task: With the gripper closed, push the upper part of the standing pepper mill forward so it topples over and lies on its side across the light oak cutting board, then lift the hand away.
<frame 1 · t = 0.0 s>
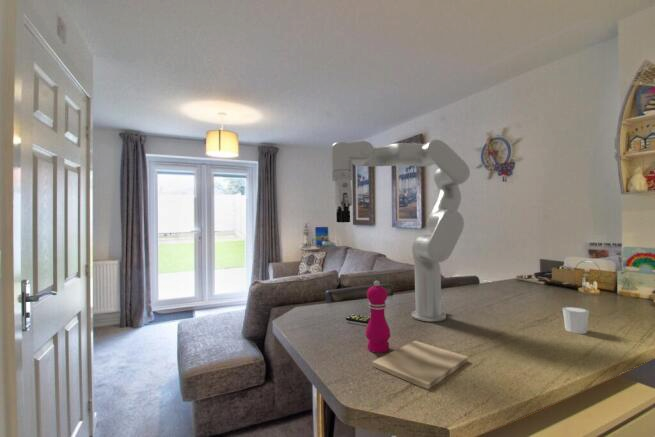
hand: (343, 222, 117), 37 cm above the breakfast bar, fingers open, 9 cm apart
remote control: (363, 323, 117), on the breakfast bar
white tapered cylinder: (575, 331, 104), on the breakfast bar
pepper mill: (378, 349, 93), on the breakfast bar
cutting board: (420, 363, 83), on the breakfast bar
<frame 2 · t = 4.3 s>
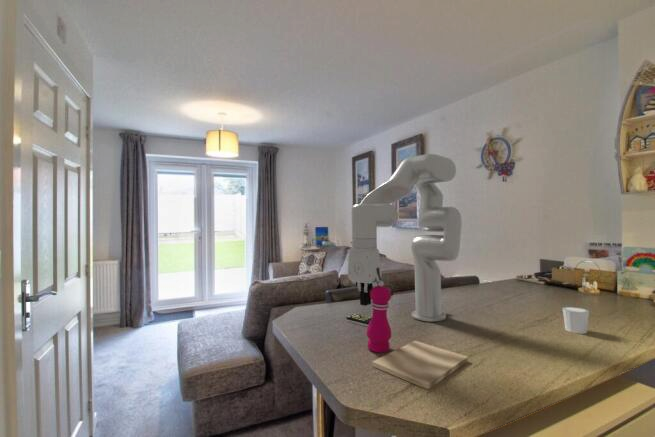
hand: (365, 304, 96), 12 cm above the breakfast bar, fingers closed
pepper mill: (378, 348, 93), on the breakfast bar, touching gripper
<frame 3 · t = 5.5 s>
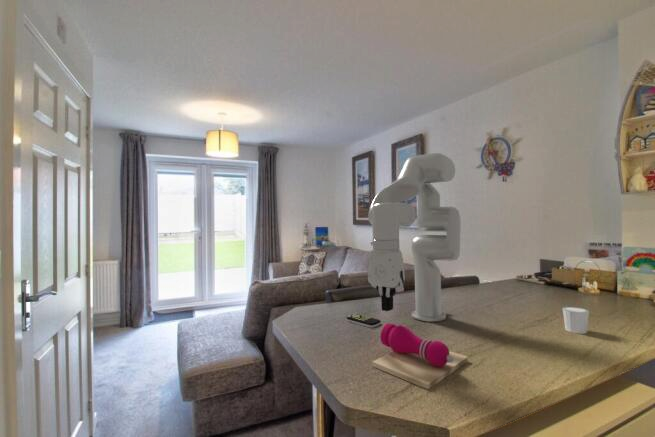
hand: (387, 309, 91), 12 cm above the breakfast bar, fingers closed
pepper mill: (386, 333, 91), point 5 cm above the breakfast bar, touching cutting board
everything else where it was.
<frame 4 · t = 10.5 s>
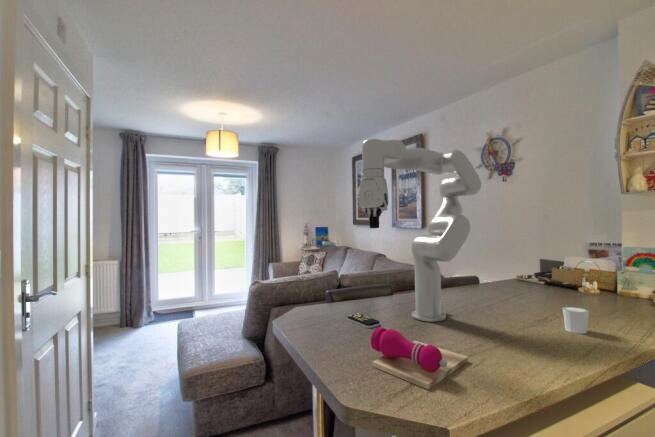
hand: (374, 227, 110), 35 cm above the breakfast bar, fingers closed
pepper mill: (376, 337, 88), point 5 cm above the breakfast bar, touching cutting board
at the end: pepper mill tilted 93°; pepper mill touching cutting board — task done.
